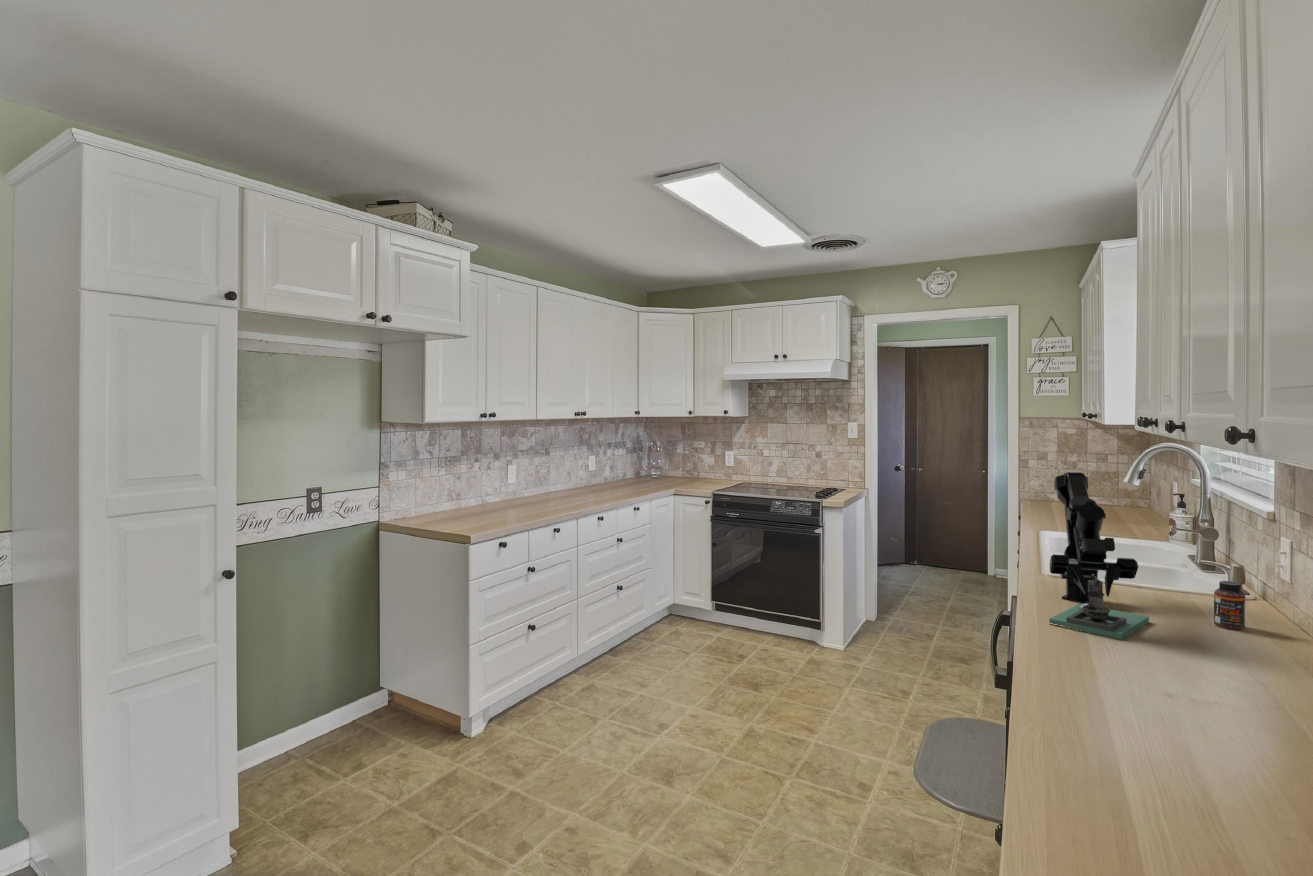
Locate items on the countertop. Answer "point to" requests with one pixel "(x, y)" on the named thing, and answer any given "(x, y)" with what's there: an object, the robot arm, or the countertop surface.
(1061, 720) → the countertop surface
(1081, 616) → the socket board
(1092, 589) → the weathered stone pawn
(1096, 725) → the countertop surface
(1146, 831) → the countertop surface
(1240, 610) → the supplement bottle
